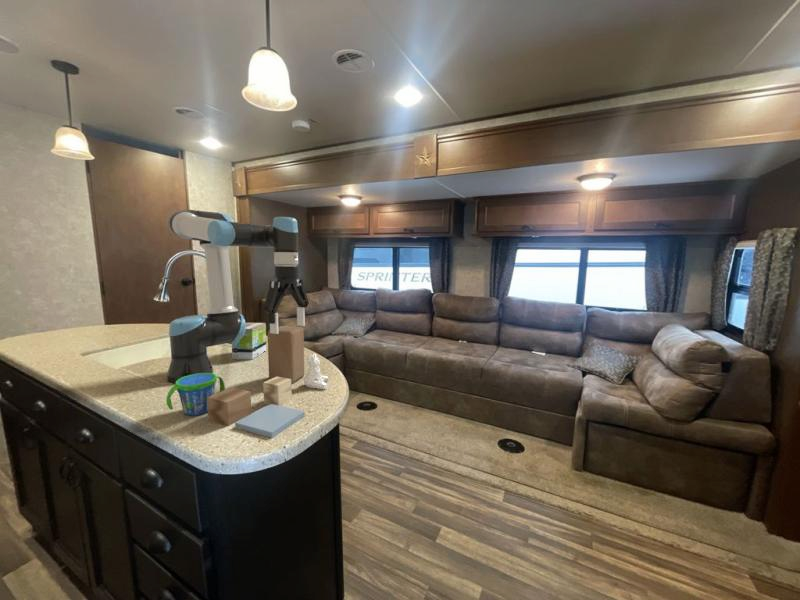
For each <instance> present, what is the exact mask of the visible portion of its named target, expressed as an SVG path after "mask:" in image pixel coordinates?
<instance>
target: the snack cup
mask: <svg viewBox="0 0 800 600" xmlns="http://www.w3.org/2000/svg"><path fill="white" fill-rule="evenodd" d="M217 379H218V380H219V392H221V391H224V390H226V385H225V381H224V379H223V378H222V377H221V376H219V375H216V374H215V373H213V374H212V373H198V374H192V375H188V376H185V377H182V378H180V379H178V380H177V381H176V383H174V385H173V386H172V387H170V389H169V391H168V394H167V395H166V405H167V407H168V409H169V410H174V407H173V404H172V399H171V398H172V395H173V394H174V393H175V392H176V391H177V392H178V396H179V398H180V405H181V407H182V411H183V413H184V415H187V416H199V415H203V414H205V413H208V409H207V397H209V396H211V395H214V394H215V390H216V389H215V388H216V382H217Z"/></svg>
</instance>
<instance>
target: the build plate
mask: <svg viewBox="0 0 800 600" xmlns="http://www.w3.org/2000/svg"><path fill="white" fill-rule="evenodd" d="M251 413H252V414H250V415H248V416H246V417H244V418H243V419H241V420H239V421H237V422H235V423H234V427H235V429H239V430H241V431H245V432H250V433H253V434H256V435H257V434H258V435H260V436H265V437H268V438H272V439H273V438H274V437H276V436H277V435H279V434H280V433H282V432H284V431H285V430H286V429H288V428H289V427H290V426H291V427H292V425H294V424H296V423H297V422H298V421H300V420H302V419H303V418H304V417H305V415H306V414H305V411H304V410H299V409H296V408H291V407H287V406H282V405H281V406H278V405H274V404H266V405H264V406H263V407H262V408H260V409H258V410H255V411H254V412H251Z"/></svg>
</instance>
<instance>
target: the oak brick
mask: <svg viewBox="0 0 800 600" xmlns="http://www.w3.org/2000/svg"><path fill="white" fill-rule="evenodd" d="M262 385H263V404H265V405H269V404H274V405H278V406H282V405H284V404H286V403H287V402H290V401H291V400H292V397H293V396H292V391H293V390H292V384H291V379H288V378H282V377H275V378H272V379H270V380H269V379H268V380H266V381H264V382H263V384H262Z"/></svg>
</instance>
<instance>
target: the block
mask: <svg viewBox="0 0 800 600" xmlns="http://www.w3.org/2000/svg"><path fill="white" fill-rule="evenodd" d="M278 328H279V333H278V334H273V333H270V329H269V330H267V332H266V335H267V356H268V357H267V358H268V361H267V363H268V380H270V379H272V378H275V377H282V378H288V379H291V385H293V384H294V383H295V382H297V381H298V380H300V379H301V378H303V377H305V344H304V343H305V342H304V341H305V338H304V336H305V335H304V327H303V326H293V325H280V326H278Z"/></svg>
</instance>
